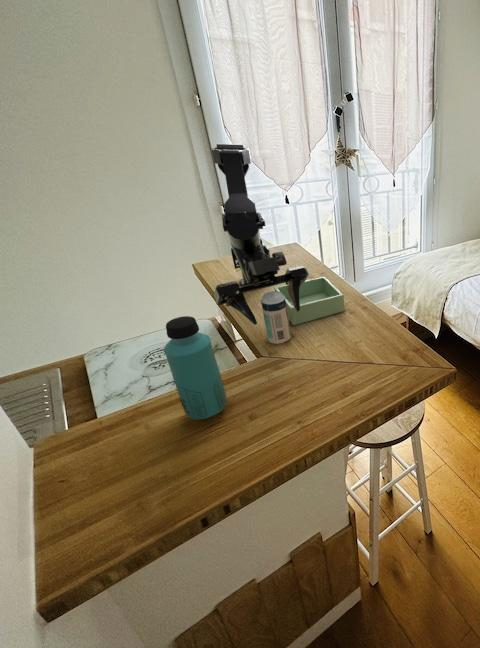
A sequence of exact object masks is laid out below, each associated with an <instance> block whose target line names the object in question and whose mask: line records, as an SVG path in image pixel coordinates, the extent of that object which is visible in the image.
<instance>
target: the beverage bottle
mask: <svg viewBox="0 0 480 648" xmlns="http://www.w3.org/2000/svg"><path fill="white" fill-rule="evenodd" d="M165 330H166V335H167V337H168V339H170V340H169V341H167V343H166V344H165V346H164V347H163V353H164V355H165V358H166V360H167V363H168V367H169V370H170V373H171V376H172V380H173V382H174V386H175V390H176V392H177V394H178V395H177V396H178V400H179V402H180V404H181V407H182V410H183V413H184V415H185V416H186V417H188V418H189V419H192V420H204V419H209V418H211V417H213V416H217V414H219V413H220V412H221V411H223V410H224V409H225V407H226V405H227V402H228V394H227V390H226V389H225V388H226V387H225V384H224V381H223V378H222V374H221V371H220V368H219V365H218V361H217V359H216V355H215V352H214V348H213V345H212V340H211V338H210V336H209V335H208V334H206V333H202V332H199V331H200V327H199V324H198V322H197V319H196V318H195V317H193V316H190V315H189V316H186V315H185V316H179V317H174V318H173V319H170V320H169V321H167V322H166V324H165Z"/></svg>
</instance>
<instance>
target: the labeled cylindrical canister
mask: <svg viewBox="0 0 480 648" xmlns="http://www.w3.org/2000/svg"><path fill="white" fill-rule="evenodd" d="M260 302H261V309H262V314H263V319H264V325H265V332H266V336H267V337H266V338H267V340H268V342H269V343H271V344H275V345H277V344H283V343H286V342H287V341H289V340H290V339H291V337H292V333H291V327H290V320H289V319H288V313H287V306H286V300H285V296H284V295H283V294H282V293H281V292H279V291H275V290H271V291H268V292H265V293H263V295H262V297H261V299H260Z"/></svg>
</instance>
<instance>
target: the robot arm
mask: <svg viewBox="0 0 480 648" xmlns="http://www.w3.org/2000/svg"><path fill="white" fill-rule="evenodd" d="M211 155H212V159H213V160H212V161H213V164H216V165H217V167H218V169H219V170H220V171H221V173H222V174H223V175H224V176H225V183H226V189H227V195H228V198H227V200H226V201H225V202H224V204H223V208H224V213H222V214H221V219H222V229H223V231H224V232H226V233H227V235H228V237H229V240H230V246H231V247H230V252H231V258H232V262H233V266H234V269H240V271H241V276H242V278H241V279H239V282H240V283H241V284H238V282H237V280H234V281H228V282H225V283H220V284H217V285H216V287H215V288H214V292H213V297H214V300H215V302H216V305H217V306H222V305H224V306H225V307H232V308H233V309H234V310H236V311H238V312H239V313H241V314H242V315H243V316H244V317H245V318H246V319H248V321H249V322H250V323H252V324H253V325H254V326H255V325H258V321H257V319H256V316H255V315H254V312H253V311H252V309H251V307H250V306H249V303H248V302H247V300H246V297H245V293H249V292H254V291H258V290H262V289H265V288H270V287H274V286H278V285H282V284H285V285H288V288H287V290H288V293H289V295H290V298H291V300H292V303H293V305H294V307H295V309H296V311H297V312H298V311H300V303H299V288H300V286H301V285H302V283H304V282H305V281H306V280H307V279H308V277H309V275H310V274H309V271H308V269H307V268H306V267H305V266H304V265H299V266H294V267H290V268H287V269H286V271H285V273H284V274H281V275H277V274H278V273H279V271H281V268H280V267H283V266H286V265H287V263H288V262H287V260H286V257H285V254H284V252H283V251H276V252H273V253H272V254H271V253H270V249H269V248H268V247H267V246H266V244H263V239H262V238H261V234H260V230H264V227H266V220H265V218H264V216H263V215H262V213H261V212H260V211H257V208H256V203H255V202H254V200H252V199H251V198H250V197H249V193H248V188H247V184H246V176H247V174H248V172H249V170H250V165H251V164H252V157H251V151H250V148H246V147H245V146H244V144H243V143H216V146H215V147H211Z"/></svg>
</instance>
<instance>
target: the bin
mask: <svg viewBox="0 0 480 648" xmlns="http://www.w3.org/2000/svg"><path fill="white" fill-rule="evenodd" d="M273 288H274V291H279V292H281V293H282V294H283V295H284V296H285V300H286V306H287V313H288V320H289V322H290V323H291V324H292V326H296V325H300V324H304V323H307V322H310V321H314V320H317V319H320V318H325V317H329V316H331V315H332V316H333V315H335V314H338V313H339V314H340V313H342V312H345V298H344V294H343V293H342V292H341V291H340V290H339V289H338V288H337V287H336V286H335V285H334V284H333V283H332V282H330V280H329V279H327V277H326V276H320V277H317V278H312V279H306V280H305V282H304V283H302V285H301V286H300V288H299V303H300V311H298V312H297V311H296V309H295V307H294V305H293V303H292V300H291V298H290V295H289V293H288V290H287V288H288V285H286V284H283V285H279V286H275V287H274V286H273Z"/></svg>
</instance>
